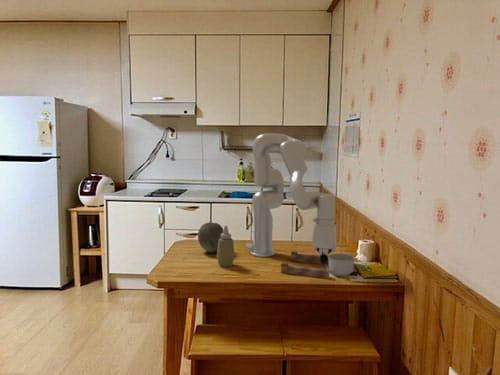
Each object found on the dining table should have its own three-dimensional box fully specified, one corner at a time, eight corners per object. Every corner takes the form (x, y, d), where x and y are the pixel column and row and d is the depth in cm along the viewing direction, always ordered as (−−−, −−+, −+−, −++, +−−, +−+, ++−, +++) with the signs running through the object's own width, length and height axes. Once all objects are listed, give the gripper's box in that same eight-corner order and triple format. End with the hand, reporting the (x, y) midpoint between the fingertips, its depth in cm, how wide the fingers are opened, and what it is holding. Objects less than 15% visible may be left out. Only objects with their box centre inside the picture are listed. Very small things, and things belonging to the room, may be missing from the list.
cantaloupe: (230, 250, 198) (231, 222, 197) (213, 257, 186) (213, 227, 185) (209, 246, 206) (209, 218, 204) (191, 252, 194) (191, 223, 192)
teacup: (350, 280, 158) (351, 261, 157) (324, 276, 163) (325, 257, 162) (356, 270, 171) (357, 252, 170) (332, 266, 175) (333, 249, 174)
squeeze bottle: (237, 263, 178) (237, 225, 176) (230, 268, 170) (230, 228, 168) (220, 261, 180) (221, 223, 178) (213, 266, 173) (213, 227, 171)
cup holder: (280, 272, 166) (281, 264, 166) (292, 258, 186) (292, 251, 186) (327, 278, 160) (328, 269, 159) (334, 263, 180) (334, 255, 179)
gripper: (306, 222, 167) (305, 263, 169) (341, 225, 162) (339, 267, 164) (309, 219, 174) (308, 258, 176) (343, 222, 169) (341, 262, 171)
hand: (323, 262), depth 170 cm, fingers closed
